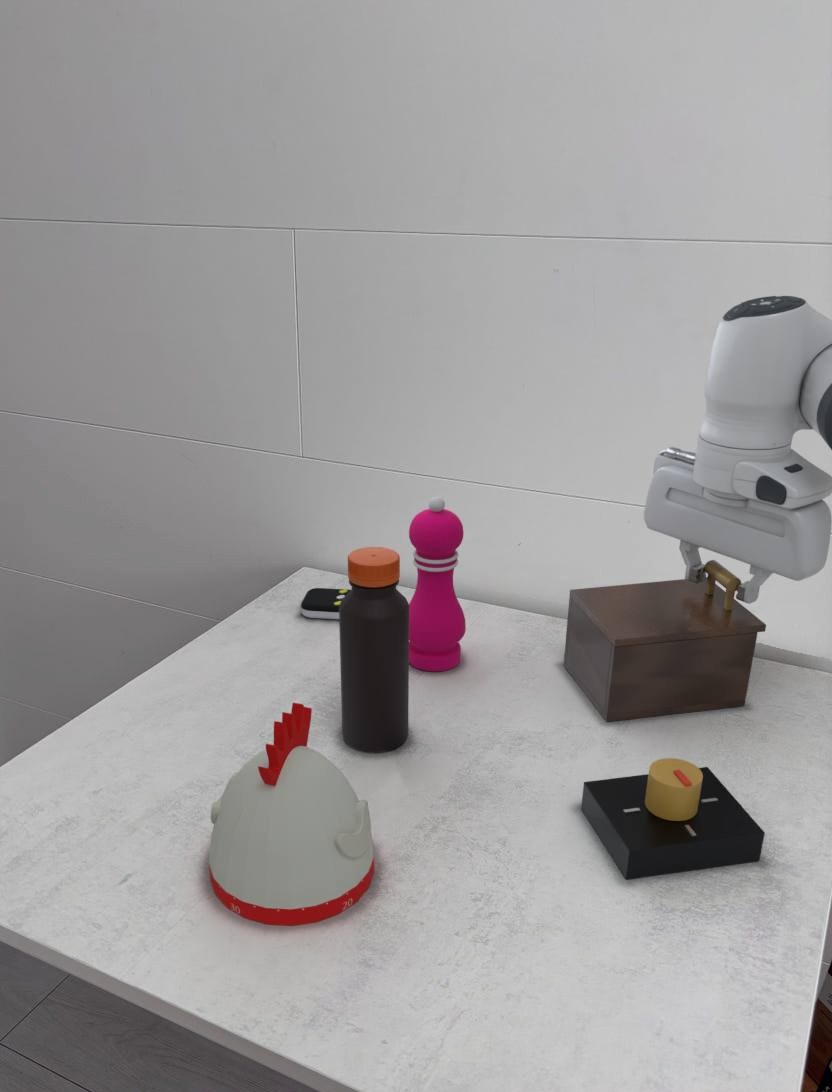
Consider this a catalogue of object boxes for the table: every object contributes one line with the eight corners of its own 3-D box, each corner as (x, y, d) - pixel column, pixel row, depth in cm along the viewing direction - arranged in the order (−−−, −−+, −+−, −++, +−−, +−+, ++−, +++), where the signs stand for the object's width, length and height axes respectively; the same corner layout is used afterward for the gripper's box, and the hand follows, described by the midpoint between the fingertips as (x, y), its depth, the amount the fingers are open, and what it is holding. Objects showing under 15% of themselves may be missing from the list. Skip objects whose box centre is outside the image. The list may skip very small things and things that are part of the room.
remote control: (308, 598, 136) (308, 584, 135) (404, 603, 134) (404, 589, 133) (298, 618, 130) (298, 604, 130) (398, 624, 128) (398, 610, 128)
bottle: (406, 718, 108) (407, 542, 99) (409, 753, 102) (411, 569, 93) (342, 719, 108) (338, 543, 99) (342, 754, 102) (337, 570, 93)
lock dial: (635, 794, 90) (640, 758, 89) (681, 787, 91) (687, 752, 89) (659, 824, 87) (665, 787, 85) (707, 817, 87) (713, 780, 86)
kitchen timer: (396, 838, 90) (397, 691, 84) (336, 943, 79) (331, 783, 72) (256, 805, 95) (245, 663, 88) (179, 899, 84) (161, 745, 77)
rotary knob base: (702, 793, 96) (707, 765, 94) (759, 861, 87) (765, 831, 85) (580, 808, 94) (583, 780, 92) (625, 879, 85) (629, 849, 84)
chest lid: (706, 583, 117) (712, 545, 114) (765, 631, 105) (772, 591, 103) (569, 596, 114) (572, 557, 112) (614, 647, 103) (619, 605, 101)
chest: (689, 652, 120) (699, 584, 116) (744, 706, 109) (757, 632, 105) (563, 665, 118) (569, 596, 114) (606, 722, 107) (614, 647, 103)
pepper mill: (396, 648, 123) (397, 488, 114) (455, 642, 124) (459, 483, 115) (410, 677, 116) (412, 510, 107) (472, 670, 117) (478, 505, 108)
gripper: (638, 448, 109) (625, 567, 116) (812, 497, 94) (786, 631, 101) (676, 437, 113) (662, 554, 119) (850, 484, 98) (823, 614, 104)
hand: (720, 590), depth 110 cm, fingers closed on chest lid, 5 cm apart
